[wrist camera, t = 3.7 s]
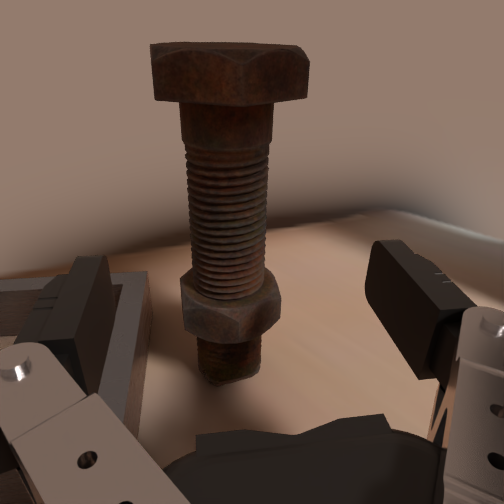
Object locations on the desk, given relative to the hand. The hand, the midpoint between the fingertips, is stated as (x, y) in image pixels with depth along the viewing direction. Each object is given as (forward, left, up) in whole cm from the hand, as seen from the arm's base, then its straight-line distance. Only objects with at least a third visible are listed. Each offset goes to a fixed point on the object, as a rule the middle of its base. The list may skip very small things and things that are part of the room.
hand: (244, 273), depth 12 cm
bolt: (0, -5, -9) cm, 10 cm away
